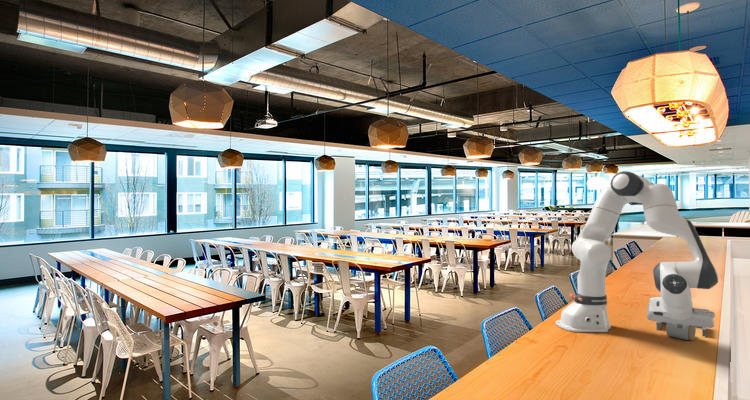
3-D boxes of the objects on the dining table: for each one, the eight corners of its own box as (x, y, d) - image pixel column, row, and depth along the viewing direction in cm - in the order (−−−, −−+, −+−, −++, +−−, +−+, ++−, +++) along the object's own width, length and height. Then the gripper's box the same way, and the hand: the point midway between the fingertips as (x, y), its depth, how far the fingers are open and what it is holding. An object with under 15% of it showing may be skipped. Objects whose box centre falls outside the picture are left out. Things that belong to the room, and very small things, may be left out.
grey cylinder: (690, 343, 153) (690, 323, 153) (665, 337, 159) (665, 318, 160) (699, 337, 159) (698, 318, 159) (675, 332, 166) (674, 314, 166)
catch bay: (706, 337, 159) (706, 329, 159) (656, 329, 169) (656, 322, 169) (706, 328, 169) (706, 321, 169) (659, 321, 180) (659, 315, 180)
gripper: (714, 303, 140) (714, 323, 148) (645, 297, 153) (649, 315, 161) (715, 319, 137) (716, 338, 144) (644, 311, 150) (648, 329, 157)
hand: (680, 326), depth 153 cm, fingers closed
